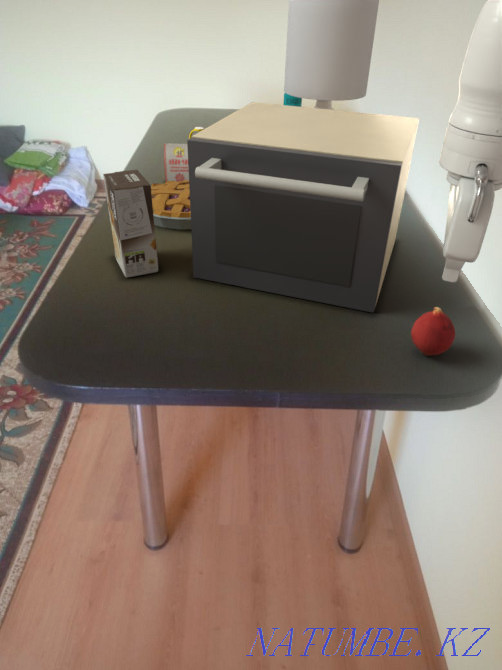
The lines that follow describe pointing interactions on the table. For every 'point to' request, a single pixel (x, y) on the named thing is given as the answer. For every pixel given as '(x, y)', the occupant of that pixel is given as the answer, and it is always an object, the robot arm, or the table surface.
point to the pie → (171, 205)
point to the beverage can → (292, 100)
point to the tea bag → (176, 162)
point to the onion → (433, 332)
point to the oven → (325, 139)
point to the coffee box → (132, 222)
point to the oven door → (291, 220)
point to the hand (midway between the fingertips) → (450, 262)
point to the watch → (195, 130)
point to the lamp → (329, 49)
